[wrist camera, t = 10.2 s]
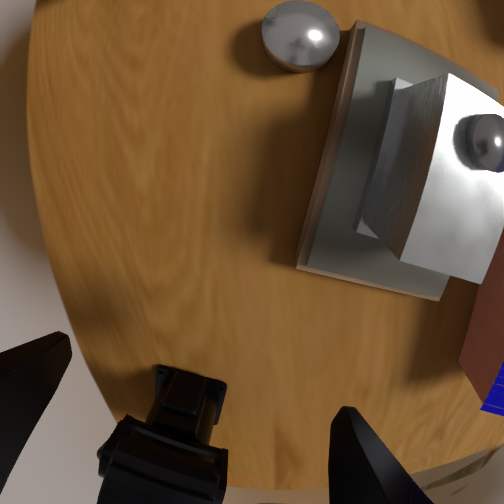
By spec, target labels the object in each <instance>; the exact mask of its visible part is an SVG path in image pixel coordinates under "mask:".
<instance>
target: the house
mask: <svg viewBox="0 0 504 504" xmlns="http://www.w3.org/2000/svg"><path fill="white" fill-rule="evenodd" d="M458 363H459V364H460V366H461V368H462V369H463V371H464V372H465V374H466V376H467V377H468V379H469V381H470V382H471V384H472V386H473V387H474V389H475V391H476V392H477V394H478V396H479V398H480V399H481V401H482V403H483V405H482V407H481V409H480V410H483V411H487V412H490V413H494V414H498V415H502V416H504V227H503V230H502V233H501V236H500V239H499V242H498V244H497V247H496V250H495V252H494V255H493V258H492V260H491V263H490V265H489V267H488V270H487V272H486V275H485V277H484V279H483V281H482V284H479V286H478V291H477V295H476V300H475V304H474V308H473V312H472V316H471V320H470V323H469V327H468V331H467V334H466V337H465V341H464V344H463V347H462V350H461V353H460V356H459V359H458Z"/></svg>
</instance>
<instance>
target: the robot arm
mask: <svg viewBox="0 0 504 504" xmlns="http://www.w3.org/2000/svg"><path fill="white" fill-rule="evenodd" d="M71 358H72V350H71V344H70V338H69V336H68V335H67V334H64V333H62V332H60V331H57V332H54V333H51V334H48V335H46V336H43V337H41V338H38V339H35V340H33V341H30V342H27V343H25V344H22V345H19V346H17V347H14V348H12V349H9V350H6V351H4V352H1V353H0V494H1V492H2V490H3V488H4V486H5V483H6V481H7V478H8V477H9V474H10V473H11V471H12V469H13V467H14V465H15V463H16V461H17V459H18V457H19V455H20V453H21V451H22V449H23V448H24V446H25V444H26V442H27V440H28V438H29V436H30V435H31V433H32V431H33V429H34V428H35V426H36V424H37V422H38V421H39V419H40V417H41V415H42V414H43V412H44V410H45V408H46V407H47V405H48V404H49V402H50V400H51V399H52V397H53V395H54V393H55V391H56V390H57V388H58V385H59V383H60V381H61V378H62V377H63V374H64V373H65V371H66V369H67V367H68V365H69V362H70V361H71ZM226 390H227V384H226V383H224V382H221V381H217V380H213V379H209V378H205V377H201V376H197V375H194V374H190V373H186V372H183V371H179V370H176V369H172V368H169V367H165V366H162V365H160V366H158V367H157V369H156V389H155V400H154V402H153V405H152V407H151V409H150V411H149V414H148V416H147V418H146V421H145V423H144V422H142V421H139V420H137V419H135V418H133V417H132V416H130V415H128V414H126V416H125V417H124V419H123V420H121V421H120V422H118V424H117V426H116V428H115V430H114V431H113V433H112V434H111V436H110V438H109V439H108V440H107V441H106V442H105V443H104V444H103V445H102V446H101V447H100V448H99V449H98V451H97V457H98V459H99V471H98V474H99V476H100V477H103V478H104V479H103V482H102V486H101V489H100V492H99V496H98V501H97V504H222V502H223V499H224V496H225V491H226V486H227V469H228V449H224V448H222V449H220V448H217V447H213V446H210V445H209V442H210V438H211V433H212V429H213V425H217V424H218V421H219V417H220V413H221V409H222V405H223V401H224V398H225V394H226ZM328 476H329V500H330V501H329V502H330V504H434V503H433V502H432V501H431V500H430V499H429V498H428V497H427V496H426V495H425V494H424V492H423V491H422V490H421V489H420V488H419V487H418V485H417V484H416V483H415V481H413V479H412V478H411V477H410V475H409V474H408V473H407V472H406V471H405V469H404V468H403V467H402V466H401V464H400V463H399V462H398V461H397V459H396V458H395V457H394V456H393V454H392V453H391V452H390V451H389V449H388V448H387V447H386V446H385V444H384V443H383V442H382V441H381V439H380V438H379V437H378V436H377V434H376V433H375V432H374V431H373V429H372V428H371V427H370V426H369V424H368V423H367V422H366V421H365V419H364V418H363V417H362V415H361V414H360V413H359V412H358V410H357V409H356V408H355V407H350V406H343V407H341V408H340V410H339V411H338V413H337V415H336V416H335V418H334V419H333V421H332V423H331V429H330V446H329V460H328Z"/></svg>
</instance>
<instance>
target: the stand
mask: <svg viewBox="0 0 504 504" xmlns="http://www.w3.org/2000/svg"><path fill="white" fill-rule="evenodd" d="M447 73H450V74H452V75H453V76H455V77H457V78H459V79H460V80H462V81H464V82H466V83H467V84H469V85H470V86H472V87H474V88H475V89H477V90H479V91H480V92H482V93H483V94H485V95H486V96H488V97H489V98H491V99H492V100H494V101H495V102H497V103H498V96H499V90H497V89H496V88H494V87H493V86H491V85H490V84H489V83H487V82H486V81H484V80H482V79H481V78H479V77H478V76H476V75H475V74H473V73H471V72H470V71H468V70H466V69H465V68H463V67H461V66H460V65H458V64H456V63H454V62H453V61H451V60H449V59H447V58H445V57H444V56H442V55H440V54H438V53H436V52H434V51H432V50H430V49H428V48H426V47H424V46H422V45H420V44H418V43H415V42H413V41H411V40H409V39H406V38H404V37H402V36H400V35H397V34H395V33H392V32H390V31H387V30H385V29H382V28H380V27H377V26H374V25H371V24H369V23H366V22H363V21H360V20H356V22H355V23H354V25H353V26H352V28H351V29H350V33H349V38H348V43H347V48H346V52H345V57H344V62H343V67H342V71H341V76H340V81H339V85H338V90H337V94H336V99H335V103H334V107H333V112H332V116H331V120H330V124H329V128H328V133H327V137H326V141H325V145H324V149H323V153H322V157H321V161H320V165H319V169H318V173H317V176H316V180H315V184H314V188H313V192H312V195H311V199H310V203H309V207H308V210H307V214H306V218H305V221H304V225H303V228H302V232H301V236H300V239H299V243H298V246H297V250H296V253H295V256H294V258H295V266H296V269H299V270H303V271H307V272H312V273H316V274H320V275H325V276H329V277H333V278H337V279H342V280H346V281H350V282H355V283H359V284H363V285H368V286H372V287H377V288H381V289H385V290H390V291H394V292H398V293H403V294H407V295H412V296H416V297H420V298H425V299H429V300H434V301H438V302H439V300H440V298H441V296H442V294H443V291H444V289H445V287H446V285H447V283H448V280H449V278H450V276H451V275H447V274H444V273H440V272H437V271H434V270H430V269H427V268H423V267H420V266H416V265H412V264H409V263H405V262H402V261H399V260H398V259H397V258H396V256H395V255H394V254H393V253H392V252H391V251H390V250H389V249H388V248H387V247H386V246H385V244H384V243H383V242H382V241H381V240H380V239H378V238H374V237H371V236H367V235H364V234H360V233H357V232H356V231H355V230H354V229H353V228H352V227H353V223H354V220H355V217H356V214H357V211H358V207H359V204H360V201H361V197H362V194H363V190H364V187H365V184H366V180H367V176H368V173H369V169H370V166H371V162H372V158H373V154H374V150H375V146H376V142H377V138H378V134H379V130H380V126H381V122H382V117H383V113H384V109H385V104H386V99H387V95H388V90H389V85H390V80H392V79H394V78H396V77H397V78H399V79H402V80H404V81H406V82H409V83H411V84H413V85H415V84H417V83H420V82H423V81H426V80H429V79H432V78H435V77H438V76H441V75H444V74H447Z"/></svg>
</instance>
